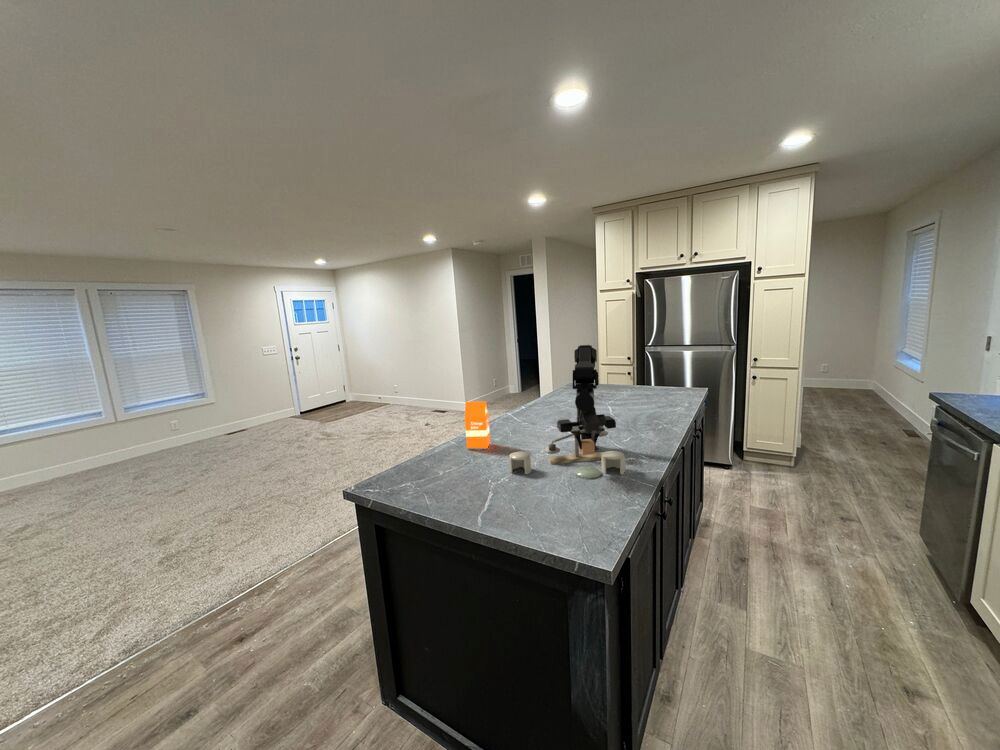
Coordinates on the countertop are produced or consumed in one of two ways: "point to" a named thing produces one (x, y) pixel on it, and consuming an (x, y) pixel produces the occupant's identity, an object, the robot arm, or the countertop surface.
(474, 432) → the orange juice
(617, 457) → the cover
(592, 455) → the balance
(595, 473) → the dish
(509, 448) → the countertop surface
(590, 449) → the block
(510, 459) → the cover
